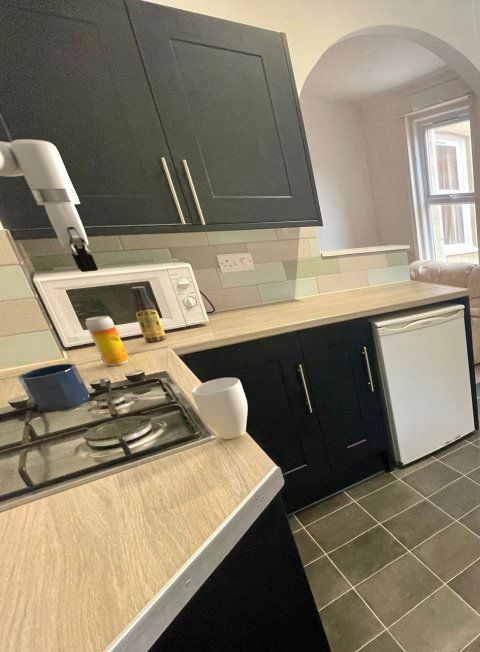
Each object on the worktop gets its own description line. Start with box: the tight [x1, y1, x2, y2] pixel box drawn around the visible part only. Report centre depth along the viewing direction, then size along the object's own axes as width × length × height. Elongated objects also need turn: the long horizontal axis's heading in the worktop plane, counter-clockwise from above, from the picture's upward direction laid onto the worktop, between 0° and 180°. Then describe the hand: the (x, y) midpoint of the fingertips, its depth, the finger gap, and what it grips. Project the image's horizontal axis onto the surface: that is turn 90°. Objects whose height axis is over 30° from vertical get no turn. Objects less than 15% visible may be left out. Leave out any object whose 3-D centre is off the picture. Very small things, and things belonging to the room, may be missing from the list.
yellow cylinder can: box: [85, 315, 130, 367], centre depth 132 cm, size 6×6×15 cm
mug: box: [191, 377, 249, 440], centre depth 87 cm, size 12×8×11 cm
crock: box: [17, 363, 92, 413], centre depth 106 cm, size 10×10×9 cm
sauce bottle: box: [130, 286, 166, 343], centre depth 154 cm, size 6×6×20 cm
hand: (88, 269), depth 109 cm, fingers open, 9 cm apart
